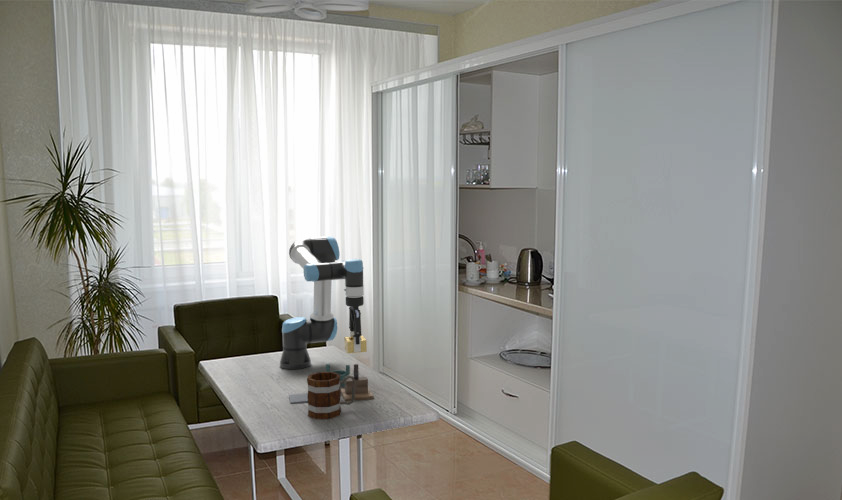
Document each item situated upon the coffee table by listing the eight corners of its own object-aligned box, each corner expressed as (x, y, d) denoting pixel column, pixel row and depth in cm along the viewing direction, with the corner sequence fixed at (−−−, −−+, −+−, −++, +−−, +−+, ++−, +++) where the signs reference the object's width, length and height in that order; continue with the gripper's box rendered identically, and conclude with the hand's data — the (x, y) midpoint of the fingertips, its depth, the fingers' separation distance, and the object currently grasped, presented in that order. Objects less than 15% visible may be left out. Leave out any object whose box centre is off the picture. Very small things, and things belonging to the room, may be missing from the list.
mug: (312, 421, 252) (311, 383, 250) (303, 410, 264) (302, 374, 262) (361, 414, 259) (360, 376, 258) (350, 403, 272) (350, 368, 270)
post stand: (340, 391, 287) (339, 361, 286) (367, 388, 291) (366, 359, 289) (345, 401, 274) (344, 370, 273) (373, 398, 277) (373, 368, 276)
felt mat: (288, 396, 281) (288, 394, 281) (312, 393, 284) (312, 392, 284) (290, 403, 272) (290, 402, 272) (315, 401, 275) (315, 400, 275)
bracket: (351, 384, 296) (351, 365, 296) (332, 388, 292) (331, 368, 291) (343, 379, 304) (342, 360, 303) (324, 383, 300) (324, 363, 299)
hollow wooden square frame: (344, 348, 283) (344, 337, 283) (363, 347, 285) (362, 335, 285) (347, 353, 275) (347, 341, 275) (366, 351, 278) (366, 340, 277)
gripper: (341, 292, 287) (342, 343, 289) (349, 301, 267) (350, 356, 269) (358, 291, 289) (359, 342, 291) (368, 300, 269) (369, 354, 271)
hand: (355, 348), depth 280 cm, fingers closed on hollow wooden square frame, 8 cm apart
